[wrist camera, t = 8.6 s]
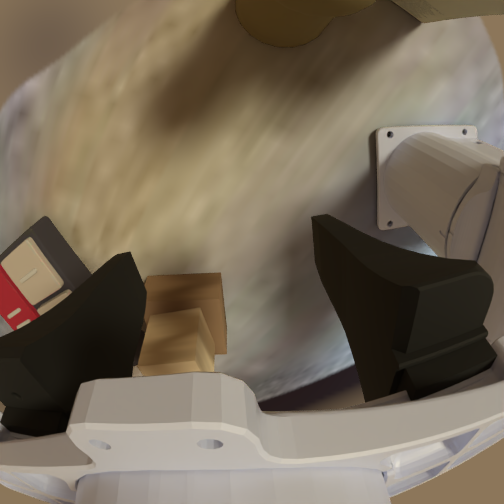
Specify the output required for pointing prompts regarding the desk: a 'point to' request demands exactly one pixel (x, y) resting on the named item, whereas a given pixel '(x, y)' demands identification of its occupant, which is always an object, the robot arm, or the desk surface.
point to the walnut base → (190, 300)
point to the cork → (292, 18)
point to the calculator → (40, 275)
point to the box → (450, 8)
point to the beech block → (177, 344)
